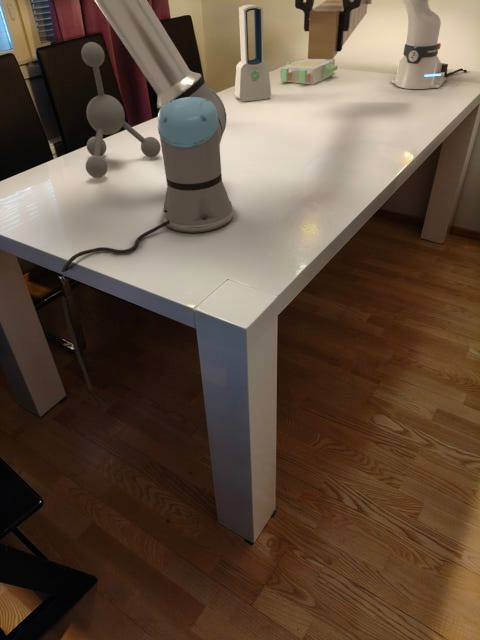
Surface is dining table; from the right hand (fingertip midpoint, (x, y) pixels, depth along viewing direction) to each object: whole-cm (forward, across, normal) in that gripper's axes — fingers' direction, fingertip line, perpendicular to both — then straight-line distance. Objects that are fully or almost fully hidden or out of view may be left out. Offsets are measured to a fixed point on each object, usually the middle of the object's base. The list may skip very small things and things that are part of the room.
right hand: (357, 4), depth 141 cm
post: (+2, 0, +30) cm, 30 cm away
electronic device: (+32, +38, -22) cm, 54 cm away
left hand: (+2, 0, +59) cm, 59 cm away
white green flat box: (+32, +23, -55) cm, 68 cm away
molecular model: (+31, +57, +50) cm, 82 cm away
